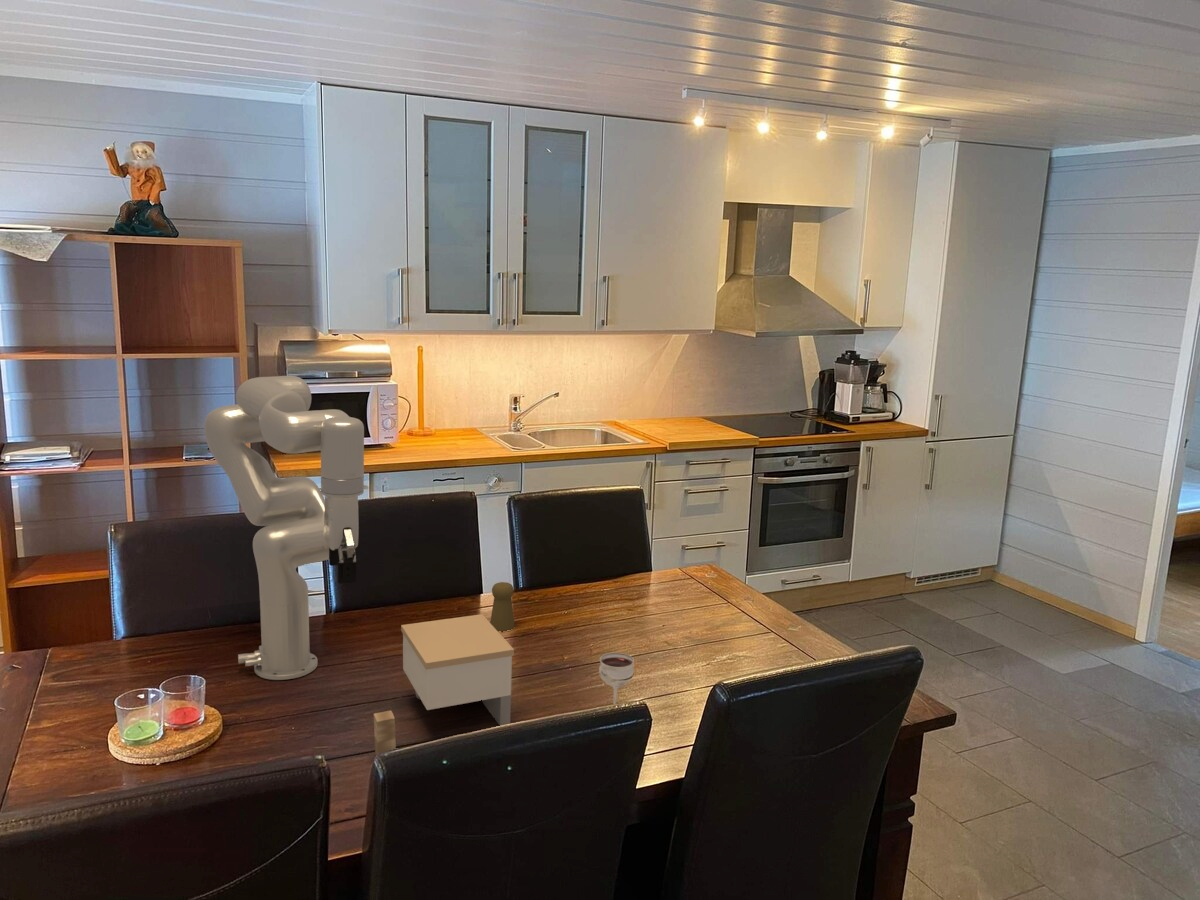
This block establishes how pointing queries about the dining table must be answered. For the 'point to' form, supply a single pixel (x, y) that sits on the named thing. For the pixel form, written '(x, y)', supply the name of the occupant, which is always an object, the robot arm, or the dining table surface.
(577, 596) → the dining table surface
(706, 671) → the dining table surface
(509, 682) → the low cabinet
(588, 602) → the dining table surface
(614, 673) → the wineglass
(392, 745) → the wooden mallet
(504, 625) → the olive pawn
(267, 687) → the dining table surface
